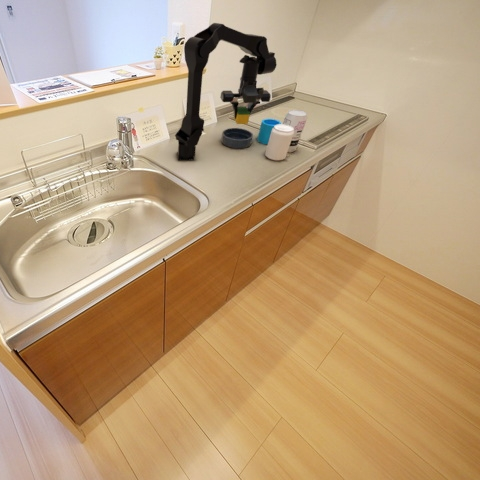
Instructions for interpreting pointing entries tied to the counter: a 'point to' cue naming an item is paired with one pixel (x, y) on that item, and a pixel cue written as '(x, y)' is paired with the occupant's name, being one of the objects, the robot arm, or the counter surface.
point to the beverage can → (279, 142)
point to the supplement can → (295, 126)
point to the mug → (266, 130)
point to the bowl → (236, 138)
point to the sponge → (242, 115)
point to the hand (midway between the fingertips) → (240, 118)
